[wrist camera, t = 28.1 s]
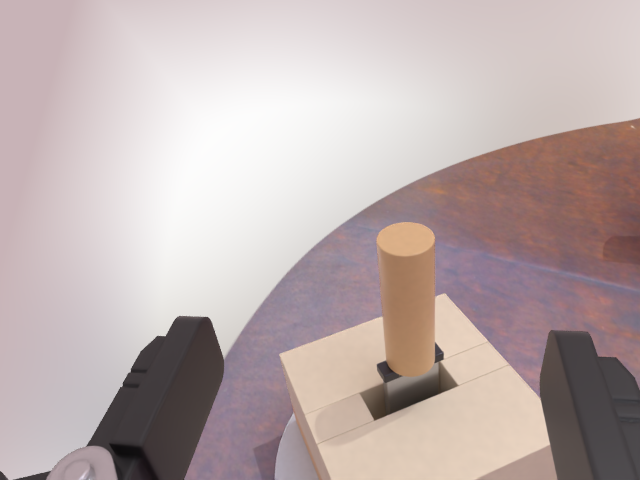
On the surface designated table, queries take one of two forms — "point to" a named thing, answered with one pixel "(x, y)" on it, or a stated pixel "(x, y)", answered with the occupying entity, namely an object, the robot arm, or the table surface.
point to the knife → (408, 315)
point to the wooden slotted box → (417, 410)
